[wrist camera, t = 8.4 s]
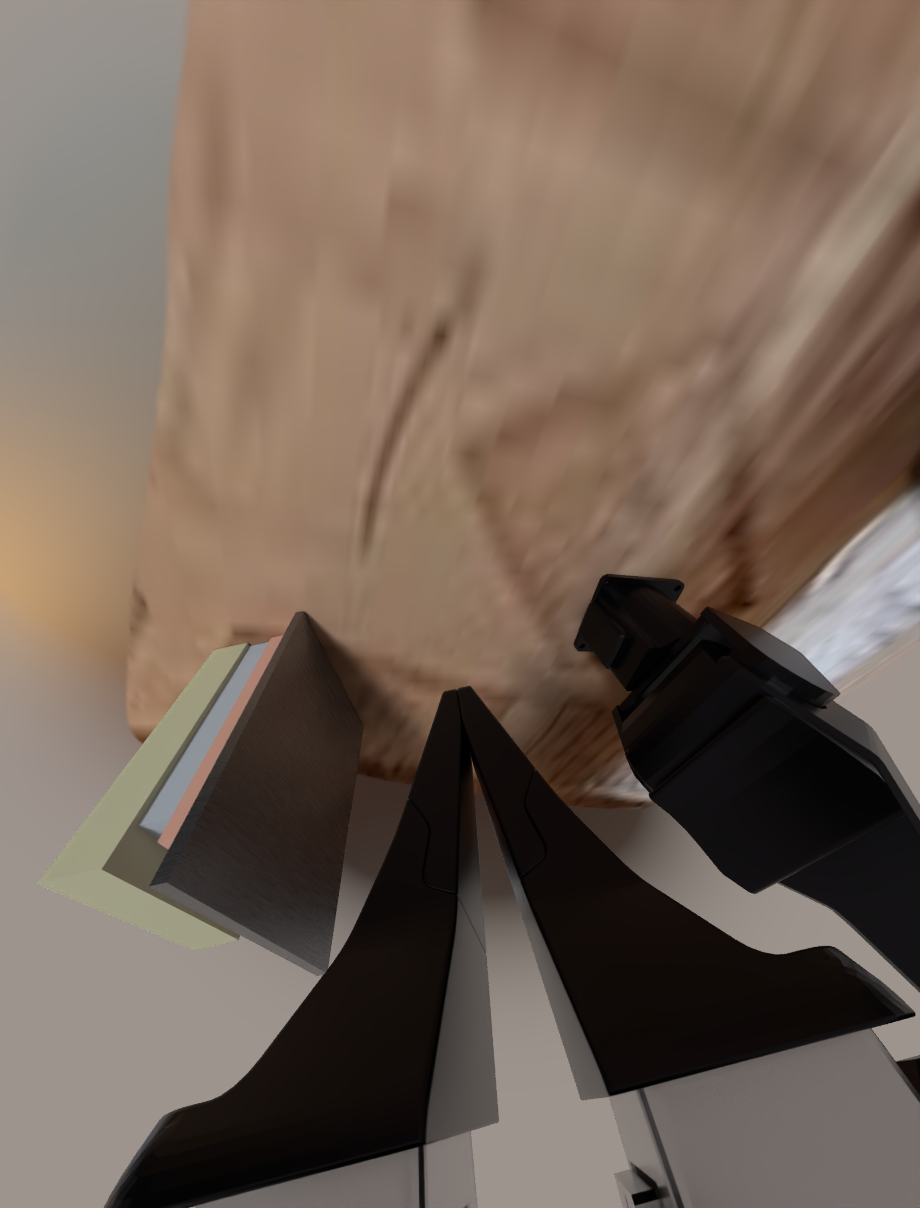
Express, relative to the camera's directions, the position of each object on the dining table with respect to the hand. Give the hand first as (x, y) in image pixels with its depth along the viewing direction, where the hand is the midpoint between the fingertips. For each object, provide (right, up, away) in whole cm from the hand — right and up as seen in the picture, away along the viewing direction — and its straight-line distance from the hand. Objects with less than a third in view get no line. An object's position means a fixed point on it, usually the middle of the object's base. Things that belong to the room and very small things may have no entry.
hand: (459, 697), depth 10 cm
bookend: (-9, -2, +14) cm, 17 cm away
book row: (-13, -3, +14) cm, 19 cm away
